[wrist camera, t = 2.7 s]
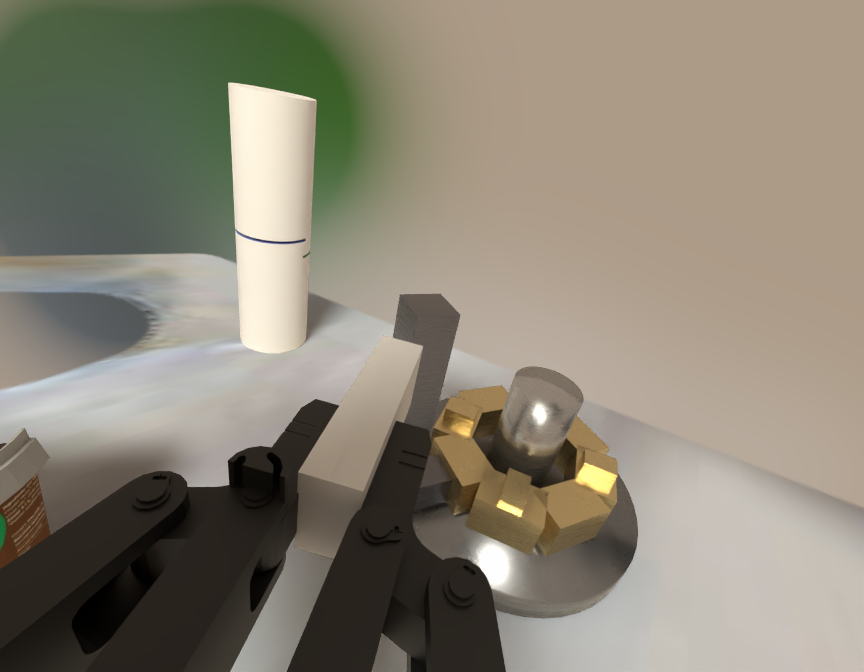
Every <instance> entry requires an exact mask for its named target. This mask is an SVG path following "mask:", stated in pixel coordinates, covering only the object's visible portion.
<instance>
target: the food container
mask: <svg viewBox="0 0 864 672" xmlns="http://www.w3.org/2000/svg"><path fill="white" fill-rule="evenodd" d="M49 458H50V457H49V456H48V454H47V453H46V452H45V450H44V449H43V447H42V446H41V445H40V443H39V442H38V441H37V439H36V438H29V436H28V434H27V432H26V430H25V428H22V429H21V430H20V431H19V432H18V434H17V435H16V436H15V437H14V438H13V439H12V440H11V441H10V442H9V443H7V444H6V443H3V444H0V569H1V568H3V567H4V566H6V565H7V564H9V563H10V562H12V561H13V560H15V559H16V558H18V557H19V556H20V555H22V554H23V553H25V552H26V551H28V550H29V549H31V548H32V547H34V546H35V545H37V544H38V543H40V542H41V541H43V540H44V539H46V538H47V537H49V536H50V530H49V525H48V521H47V516H46V512H45V507H44V503H43V498H42V494H41V489H40V485H39V480H38V476H37V472H38V471H39V470H40V469H41V468H42V466H43V465H44V464H45V463H46V461H47V460H48V459H49Z"/></svg>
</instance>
